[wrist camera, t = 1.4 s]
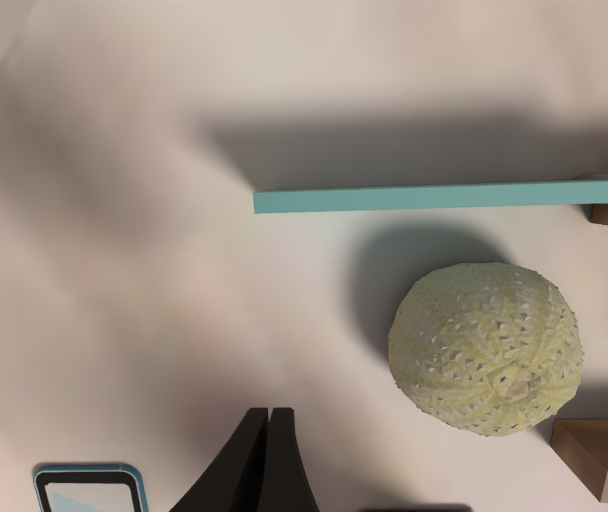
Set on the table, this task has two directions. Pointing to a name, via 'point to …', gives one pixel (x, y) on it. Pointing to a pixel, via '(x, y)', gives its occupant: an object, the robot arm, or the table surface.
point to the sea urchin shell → (486, 347)
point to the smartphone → (90, 489)
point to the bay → (586, 431)
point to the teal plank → (436, 196)
